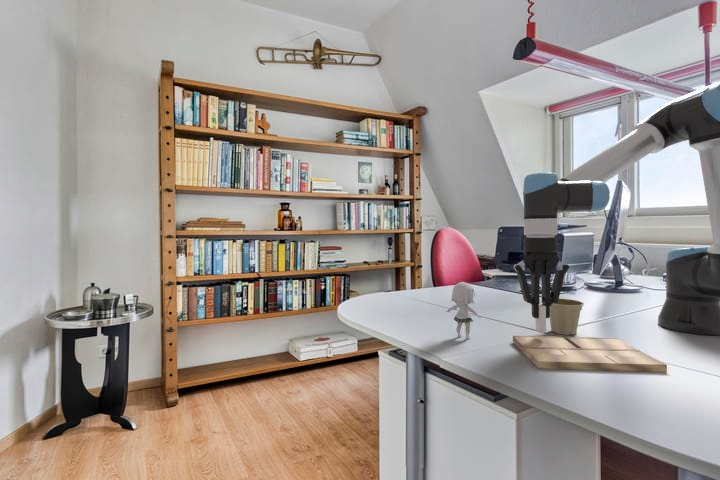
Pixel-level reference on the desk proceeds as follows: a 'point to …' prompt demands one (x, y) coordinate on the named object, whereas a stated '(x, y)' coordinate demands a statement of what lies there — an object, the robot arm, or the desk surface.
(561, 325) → the flower pot
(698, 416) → the desk surface
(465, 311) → the figurine
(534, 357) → the floor strip
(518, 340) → the plank
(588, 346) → the plank
